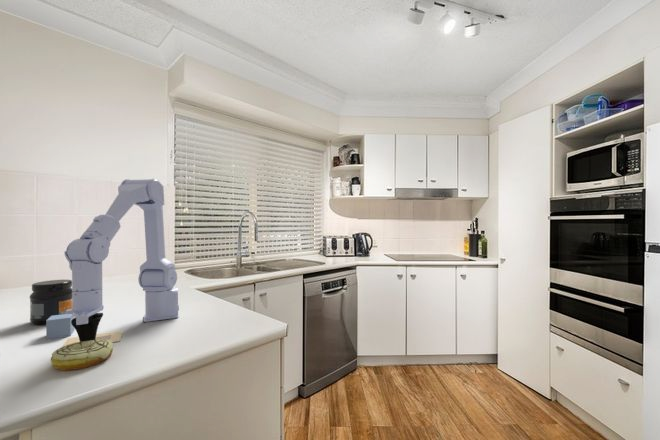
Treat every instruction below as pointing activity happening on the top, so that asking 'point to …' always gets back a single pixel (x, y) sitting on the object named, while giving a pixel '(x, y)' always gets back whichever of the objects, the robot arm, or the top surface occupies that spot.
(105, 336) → the letter card
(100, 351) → the decorated donut
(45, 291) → the supplement container
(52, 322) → the powder blue cube
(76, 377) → the top surface
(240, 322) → the top surface
